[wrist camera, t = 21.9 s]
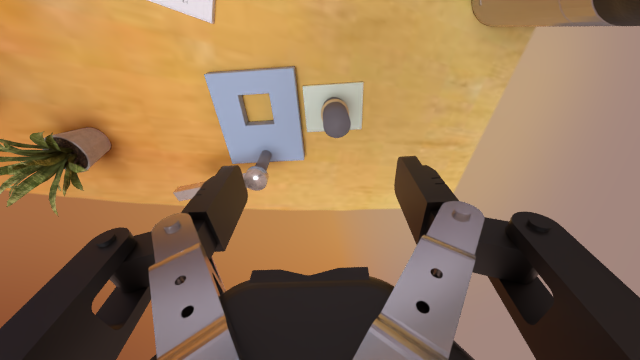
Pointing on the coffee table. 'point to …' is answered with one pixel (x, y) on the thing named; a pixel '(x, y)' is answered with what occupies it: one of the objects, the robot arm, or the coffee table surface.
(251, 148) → the plate
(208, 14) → the external hard drive
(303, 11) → the coffee table surface
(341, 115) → the plug
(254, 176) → the clip
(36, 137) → the house plant
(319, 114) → the pad
